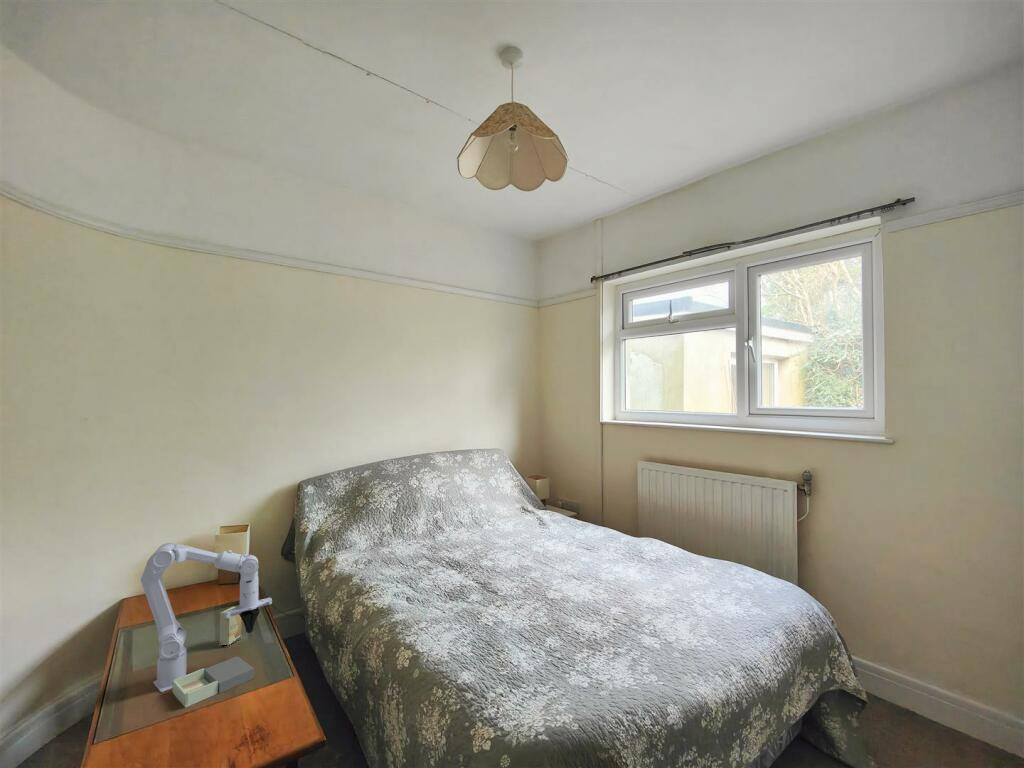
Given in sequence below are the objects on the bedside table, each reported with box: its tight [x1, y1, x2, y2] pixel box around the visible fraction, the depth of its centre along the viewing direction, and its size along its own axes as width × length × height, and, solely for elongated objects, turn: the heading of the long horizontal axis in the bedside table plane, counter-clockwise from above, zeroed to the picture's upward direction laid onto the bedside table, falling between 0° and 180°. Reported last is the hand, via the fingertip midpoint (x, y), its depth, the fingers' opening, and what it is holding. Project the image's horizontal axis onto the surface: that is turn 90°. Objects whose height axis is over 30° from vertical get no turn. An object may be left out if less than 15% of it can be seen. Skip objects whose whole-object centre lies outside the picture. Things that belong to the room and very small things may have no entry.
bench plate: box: [204, 655, 255, 694], centre depth 148 cm, size 14×10×3 cm
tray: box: [171, 667, 219, 708], centre depth 140 cm, size 13×8×4 cm, turn 51°
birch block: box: [181, 680, 203, 693], centre depth 139 cm, size 5×5×2 cm
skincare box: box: [219, 606, 242, 645], centre depth 173 cm, size 6×4×12 cm
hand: (249, 631), depth 158 cm, fingers closed
